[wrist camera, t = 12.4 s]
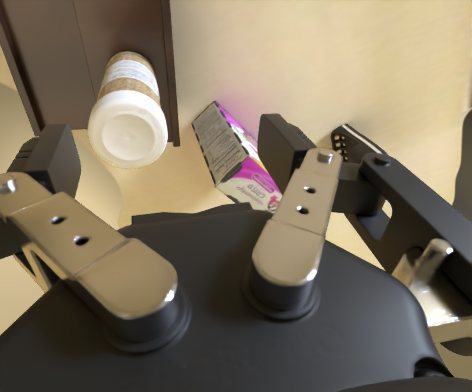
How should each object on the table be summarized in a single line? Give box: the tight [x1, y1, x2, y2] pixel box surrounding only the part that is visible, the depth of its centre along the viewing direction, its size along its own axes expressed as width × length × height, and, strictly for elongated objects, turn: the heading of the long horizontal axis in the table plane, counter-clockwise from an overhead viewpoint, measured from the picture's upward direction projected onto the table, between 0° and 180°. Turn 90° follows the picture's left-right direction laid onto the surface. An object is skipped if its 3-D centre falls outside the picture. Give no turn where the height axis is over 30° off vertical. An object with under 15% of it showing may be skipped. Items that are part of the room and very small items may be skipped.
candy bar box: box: [192, 101, 282, 213], centre depth 38 cm, size 11×5×16 cm, turn 42°
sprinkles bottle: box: [88, 51, 168, 169], centre depth 23 cm, size 5×5×14 cm
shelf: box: [0, 0, 180, 147], centre depth 30 cm, size 14×15×10 cm
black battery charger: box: [331, 124, 389, 164], centre depth 46 cm, size 7×4×11 cm, turn 21°
